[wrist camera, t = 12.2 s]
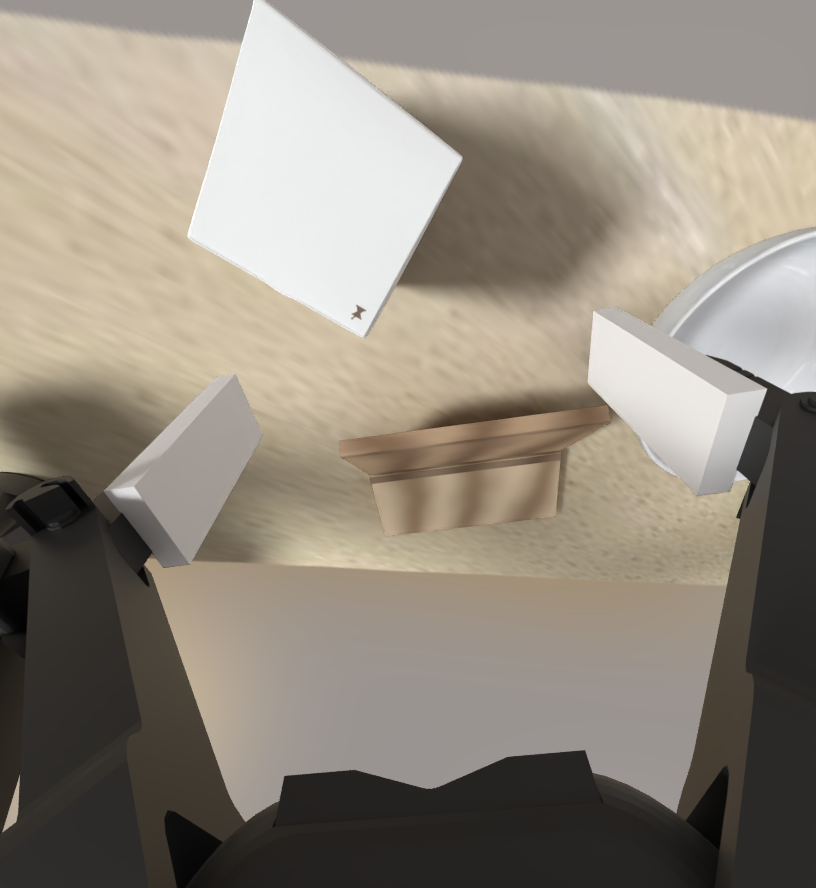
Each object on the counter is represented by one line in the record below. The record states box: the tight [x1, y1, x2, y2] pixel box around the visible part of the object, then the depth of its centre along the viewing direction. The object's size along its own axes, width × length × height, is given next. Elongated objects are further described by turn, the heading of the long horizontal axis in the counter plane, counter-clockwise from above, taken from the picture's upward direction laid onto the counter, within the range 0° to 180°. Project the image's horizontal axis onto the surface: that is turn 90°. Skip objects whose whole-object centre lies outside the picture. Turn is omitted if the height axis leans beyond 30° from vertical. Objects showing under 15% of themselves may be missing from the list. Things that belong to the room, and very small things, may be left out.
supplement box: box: [188, 0, 463, 338], centre depth 22 cm, size 9×9×15 cm
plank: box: [339, 405, 611, 475], centre depth 35 cm, size 20×12×1 cm
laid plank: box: [370, 450, 561, 536], centre depth 44 cm, size 20×9×1 cm, turn 98°
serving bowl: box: [635, 227, 816, 481], centre depth 33 cm, size 21×21×7 cm
